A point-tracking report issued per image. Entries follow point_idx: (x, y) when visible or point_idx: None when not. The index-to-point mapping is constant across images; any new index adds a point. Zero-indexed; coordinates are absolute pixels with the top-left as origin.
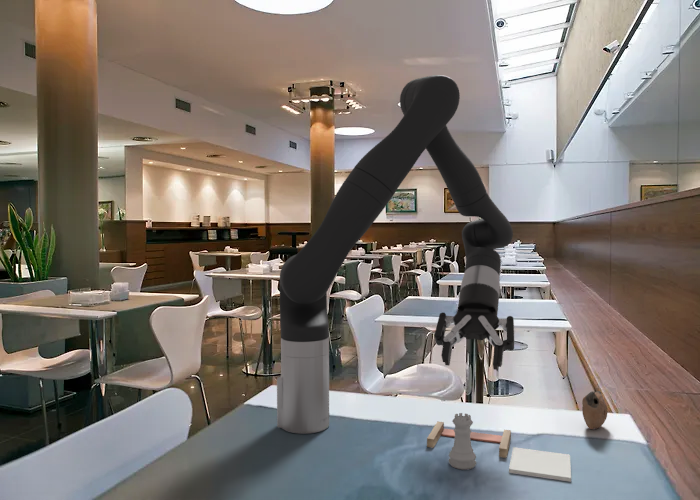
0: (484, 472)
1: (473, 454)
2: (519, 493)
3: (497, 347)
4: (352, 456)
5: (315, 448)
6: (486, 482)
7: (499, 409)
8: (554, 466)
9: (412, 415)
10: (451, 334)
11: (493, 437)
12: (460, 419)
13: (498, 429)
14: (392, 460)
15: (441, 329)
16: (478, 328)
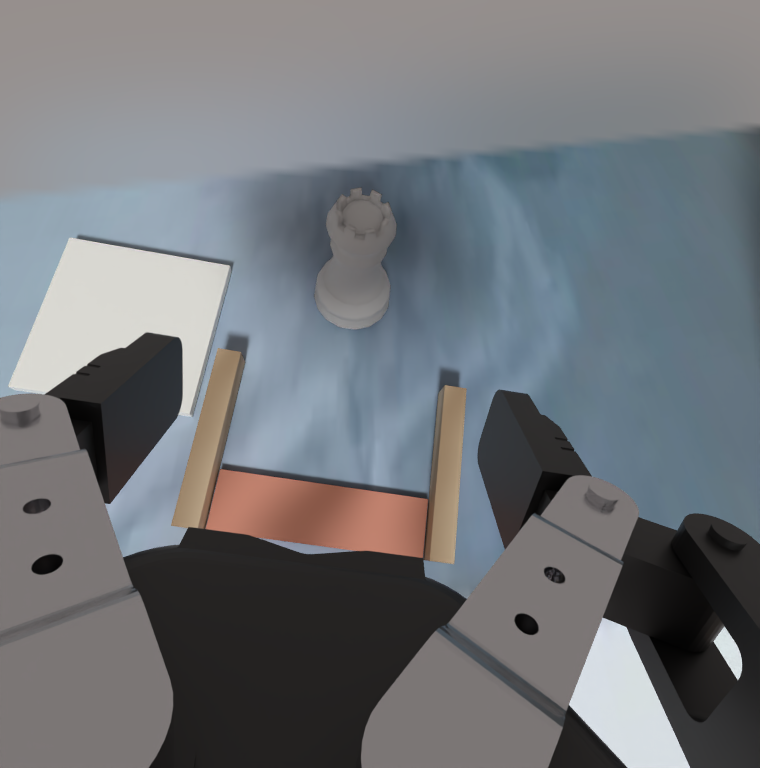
0: (295, 265)
1: (323, 272)
2: (223, 180)
3: (77, 393)
4: (629, 304)
5: (735, 335)
6: (294, 218)
7: None
8: (93, 296)
9: None
10: (582, 538)
11: (245, 505)
12: (369, 199)
13: None
14: (529, 297)
15: (754, 610)
16: (224, 603)
